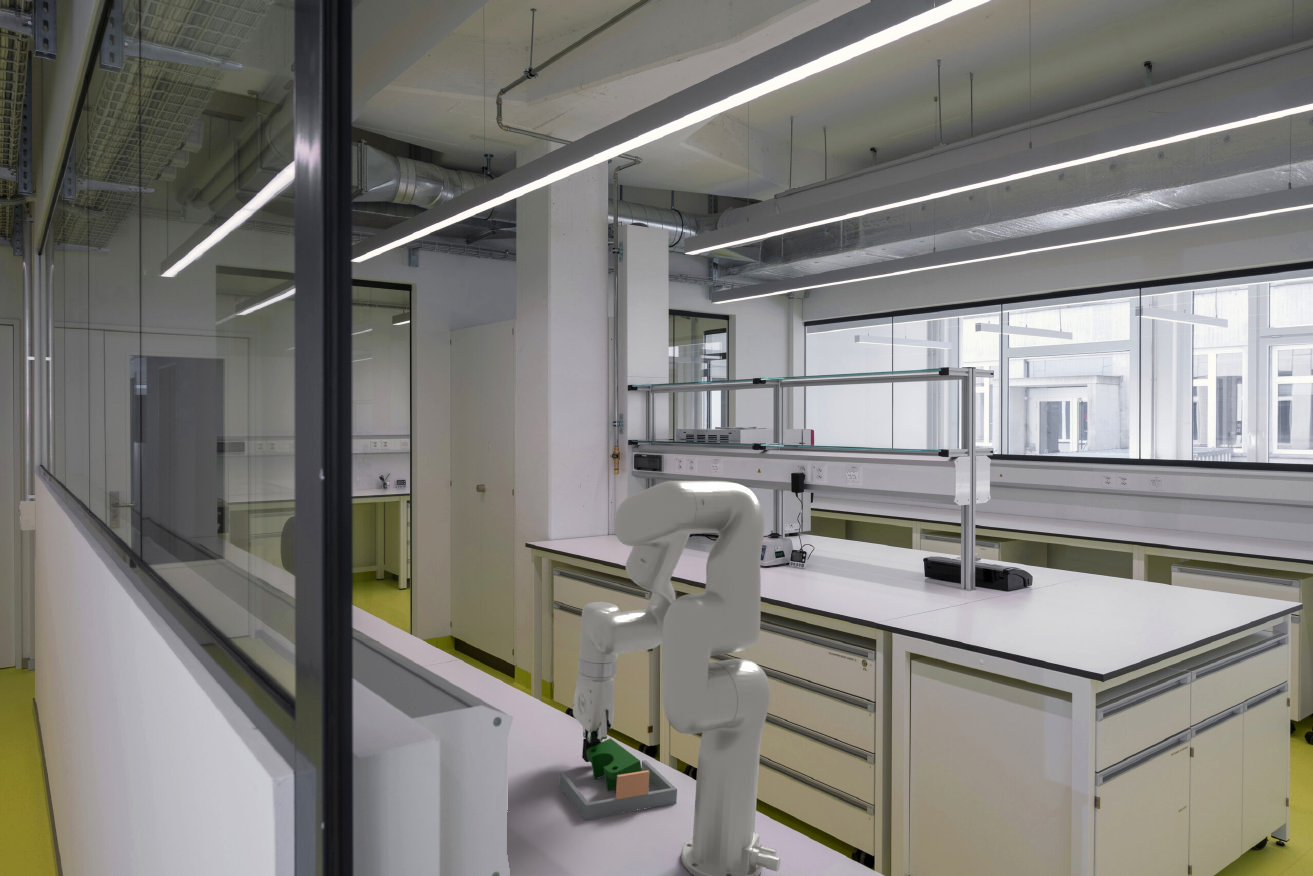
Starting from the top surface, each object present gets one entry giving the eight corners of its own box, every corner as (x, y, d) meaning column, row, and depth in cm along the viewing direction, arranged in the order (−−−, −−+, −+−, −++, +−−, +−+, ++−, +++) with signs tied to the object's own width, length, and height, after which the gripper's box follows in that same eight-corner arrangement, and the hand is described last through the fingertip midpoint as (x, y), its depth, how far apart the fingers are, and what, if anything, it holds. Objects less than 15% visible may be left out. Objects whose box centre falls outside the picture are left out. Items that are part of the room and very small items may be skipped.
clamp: (595, 798, 149) (580, 750, 151) (622, 784, 152) (606, 738, 154) (620, 800, 139) (603, 750, 141) (648, 786, 142) (632, 736, 144)
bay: (559, 787, 143) (561, 752, 143) (644, 772, 151) (646, 739, 151) (585, 820, 132) (587, 782, 132) (676, 803, 140) (678, 767, 140)
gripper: (566, 656, 157) (559, 746, 158) (594, 681, 144) (587, 779, 144) (600, 654, 161) (594, 742, 161) (631, 677, 147) (624, 773, 148)
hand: (591, 759), depth 153 cm, fingers closed
